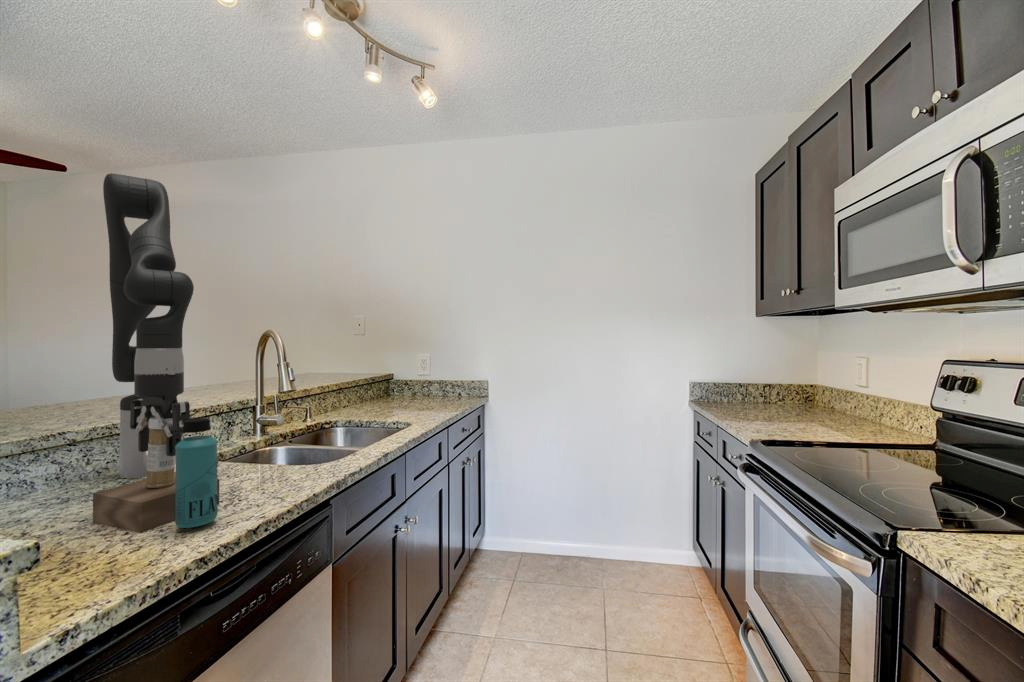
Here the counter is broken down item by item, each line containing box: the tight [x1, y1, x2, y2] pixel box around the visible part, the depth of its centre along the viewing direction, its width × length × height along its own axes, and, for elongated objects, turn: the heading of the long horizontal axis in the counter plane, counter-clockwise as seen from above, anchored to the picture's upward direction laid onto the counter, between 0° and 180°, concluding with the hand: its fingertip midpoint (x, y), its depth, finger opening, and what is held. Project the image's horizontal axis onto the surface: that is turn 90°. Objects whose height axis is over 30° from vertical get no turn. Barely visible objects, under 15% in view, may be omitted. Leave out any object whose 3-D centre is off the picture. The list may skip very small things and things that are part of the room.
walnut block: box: [92, 472, 220, 534], centre depth 84 cm, size 14×14×6 cm
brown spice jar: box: [145, 418, 176, 488], centre depth 84 cm, size 5×5×13 cm
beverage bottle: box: [174, 417, 219, 529], centre depth 77 cm, size 6×7×20 cm
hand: (159, 453), depth 84 cm, fingers open, 8 cm apart
